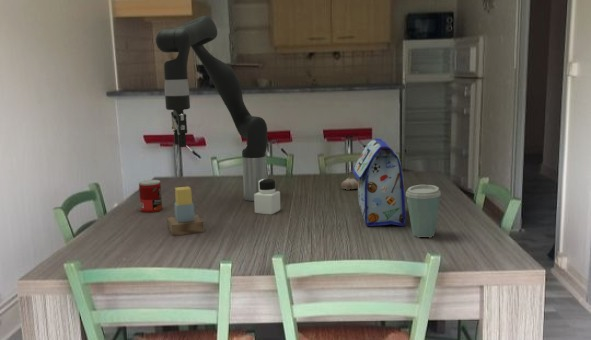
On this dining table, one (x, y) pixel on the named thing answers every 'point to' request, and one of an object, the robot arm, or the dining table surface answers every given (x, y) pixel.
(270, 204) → the medicine bottle
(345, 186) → the garlic bulb
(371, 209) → the lunch bag
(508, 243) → the dining table surface
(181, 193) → the ochre block
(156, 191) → the canned food
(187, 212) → the slate cube
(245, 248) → the dining table surface
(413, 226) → the disposable coffee cup
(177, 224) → the walnut base
